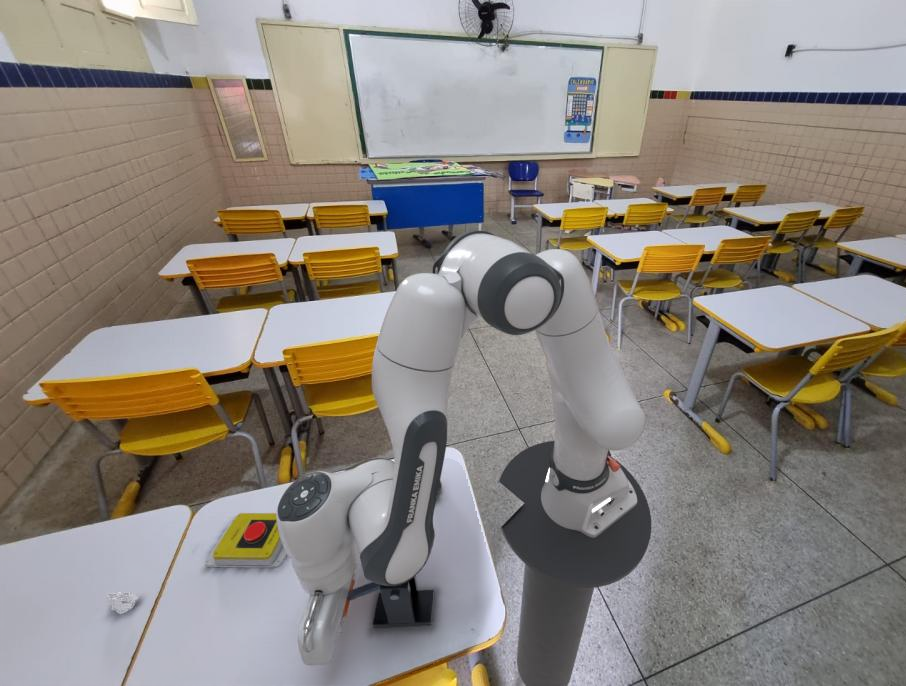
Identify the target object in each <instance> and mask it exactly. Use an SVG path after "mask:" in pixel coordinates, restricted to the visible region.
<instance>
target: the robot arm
mask: <svg viewBox="0 0 906 686" xmlns="http://www.w3.org/2000/svg"><path fill="white" fill-rule="evenodd" d="M436 268H437V272H436ZM479 317H481V318H482V319H483V320H484V322H485V323H486V324H487V325H488V326H490V327H492V328H494V329H495V330H497V331H499V332H501V333H504V334H507V335H511V336H522V335H527V334H529V333H532V332H535V334H536V337H537V340H538V342H539V344H540V346H541V349H542V352H543V354H544V356H545V366H546V371H547V374H548V378H549V383H550V390H551V391H550V392H551V399H552V408H553V409H552V410H553V415H554V425H555V432H554V433H555V434H554V441H555V442H554V448H553V450H552V453H551V458H550V467H549V470H548V474H547V477H546V482H545V484H544V486H543V488H542V491H541V502H542V505H543V508H544V510H545V512H546V513H547V515H548V516H549V517H550V518H551V519H552V520H553V521H554V522H556V523H557V524H559V525H560V526H562V527H565V528H567V529H571V530H577V531H580V532H582V533H583V534H585V535H587V536H589V537H591V538H595V537H597V536H598V535H600V534H601V533H602V532H603V531H605V530H606V529H607V528H608V527H610V526H611V525H612V524H614V523H615V522H616V521H617V520H619V519H620V518H621V517H622V516H624V515H625V514H626V513H627V512H629V511H630V510H631V509H632V508H634V507H635V506H636V505H637V496H636V493H635V491H634V489H633V487H632V485H631V483H630V482H629V481H628V479H627V478H626V476H625V474H624V472H623V471H622V469H621V468H620V465H619V464H618V463H617V462H616V460H617V459H615V458H614V459H612V458H613V457H612V453H611V451H612V452H614V451H615V452H617V451H621V450H625V449H628V448H630V447H631V446H633V445H635V444H636V443H637V442H638V440H639V439H640V438H641V436H642V435H643V433H644V431H645V427H646V424H647V417H646V414H645V412H644V410H643V407H641V405H640V403H639V401H638V399H637V398H636V395H635V394H634V392H633V390H632V388H631V385H630V383H629V380H628V378H627V376H626V374H625V372H624V370H623V367H622V365H621V363H620V362H619V359H618V357H617V355H616V353H615V352H614V349H613V347H612V345H611V343H610V341H609V338H608V335H607V332H606V329H605V325H604V322H603V318H602V315H601V311H600V308H599V304H598V300H597V296H596V293H595V291H594V289H593V286H592V283H591V281H590V278H589V277H588V274H587V273H586V271H585V268H584V267H583V264H581V262H580V260H579V259H578V257H577V256H576V255H575V254H573V253H572V252H571V251H568V250H566V249H562V248H561V249H560V248H551V249H546V250H542V251H540V252H538V253H536V254H534V253H532V252H530V251H529V250H527V249H525V248H524V247H523V246H521V245H520V244H518V243H516V242H514V241H512V240H510V239H506V238H503V237H500V236H497V235H495V234H494V233H492V232H489V231H486V230H468V231H464V232H462V233H459V235H457V236H456V237H454V238H453V239H452V240H451V241H450V243H449V244H448V245H446V248H445V249H444V251H443V253H442V254H441V255H440V256H439V258H438V259H436V261H434V263H433V265H432V272H420V273H419V272H418V273H414V274H411V275H409V276H407V277H405V279H403V280H402V281H401V282H400V283H399V285H398V286H397V289H396V290H395V292H394V295H393V296H392V299H391V301H390V303H389V306H388V308H387V311H386V312H385V316H384V318H383V321H382V324H381V326H380V329H379V333H378V336H377V341H376V345H375V348H374V352H373V357H372V362H371V365H372V366H371V391H372V394H373V398H374V400H375V402H376V405H377V407H378V409H379V410H378V411H379V413H380V415H381V418H382V420H383V422H384V424H385V428H386V430H387V433H388V436H389V439H390V443H391V446H392V451H393V458H394V460H391V459H388V458H385V457H375V458H369V459H365V460H363V461H360V462H358V463H356V464H353V465H351V466H349V467H348V468H346V469H344V470H343V471H339V472H338V471H337V472H331V471H324V470H318V471H317V470H316V471H311V472H308V473H306V474H304V475H302V476H300V477H298V478H297V479H296V480H294V481H293V482H292V483H291V484H290V485H289V486H288V487H287V488H286V489H285V491H284V493H282V496H281V498H280V499H279V502H278V504H277V510H276V513H277V515H276V521H277V528H278V532H279V535H280V538H281V541H282V544H283V546H284V549H285V551H286V553H287V557H289V558H290V559H291V565H292V568H293V570H294V573H295V575H296V577H297V579H298V582H299V584H300V586H301V588H302V589H303V591H304V592H305V593H307V594H308V595H309V597H308V600H307V603H306V606H305V609H304V612H303V615H302V617H301V621H300V624H299V628H298V632H297V645H298V651H299V654H300V658H301V660H302V663H303V665H305V666H322V665H326V664H327V663H328V662H329V661H330V660H331V658H332V657H333V653H334V649H335V645H336V641H337V638H338V634H341V633H342V631H343V628H344V624H345V620H344V617H342V615H343V611H344V607H345V603H346V600H347V596H348V592H349V588H350V584H351V581H352V579H353V580H356V577H357V573H356V571H357V569H358V565H359V562H360V564H361V569H362V573H363V576H364V578H365V580H367V581H369V582H370V583H371V582H373V583H376V584H380V585H385V586H398V585H401V584H404V583H406V582H407V581H409V580H411V579H412V578H413V577H414V576H416V577H417V575H419V573H420V572H421V571H422V569H424V567H425V565H426V564H427V562H428V560H429V558H430V556H431V553H432V550H433V547H434V542H435V538H436V532H435V527H434V513H435V508H436V502H437V498H438V495H437V493H438V488H439V483H440V481H441V478H442V477H441V476H442V471H443V467H444V462H445V457H446V452H447V451H446V450H447V445H448V404H449V395H450V387H451V382H452V377H453V371H454V368H455V365H456V361H457V357H458V354H459V351H460V346H461V342H462V339H463V338H464V335H465V334H466V332H467V331H468V329H469V328H470V327H471V326H472V324H473V323H474V322H475V321H476V320H478V319H479ZM611 457H612V458H611ZM629 492H631V493H629ZM594 527H596V528H598V529H595V528H594Z"/></svg>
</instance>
